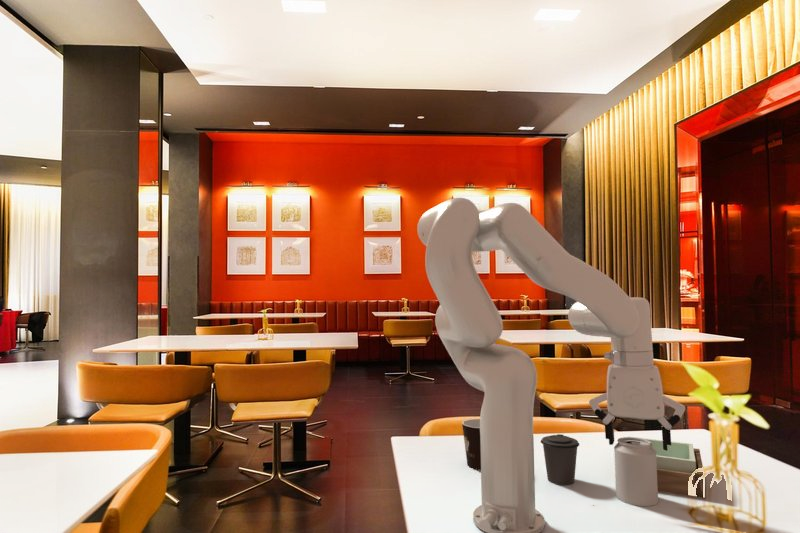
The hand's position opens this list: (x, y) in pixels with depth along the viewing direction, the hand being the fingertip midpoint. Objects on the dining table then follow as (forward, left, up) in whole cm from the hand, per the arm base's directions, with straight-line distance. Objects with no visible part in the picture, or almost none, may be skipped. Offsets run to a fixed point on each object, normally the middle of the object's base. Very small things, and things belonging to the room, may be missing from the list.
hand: (638, 445), depth 98 cm
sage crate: (+14, -3, -10) cm, 18 cm away
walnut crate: (+14, -3, -11) cm, 18 cm away
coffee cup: (+2, +16, -11) cm, 19 cm away
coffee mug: (+4, +35, -11) cm, 37 cm away
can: (-1, +1, -11) cm, 11 cm away
